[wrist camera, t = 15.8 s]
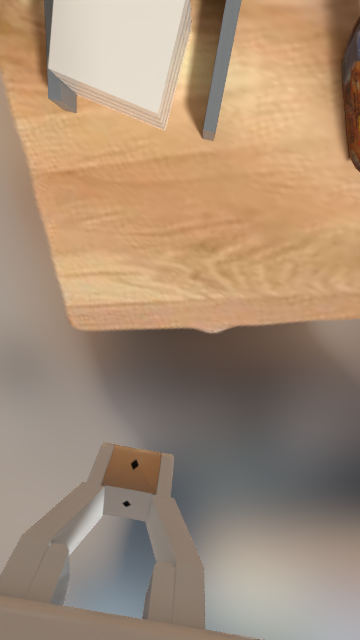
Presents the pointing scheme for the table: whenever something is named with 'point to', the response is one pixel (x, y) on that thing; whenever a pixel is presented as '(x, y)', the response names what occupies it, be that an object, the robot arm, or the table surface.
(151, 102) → the tile stack
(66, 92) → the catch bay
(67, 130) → the table surface
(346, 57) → the tin
